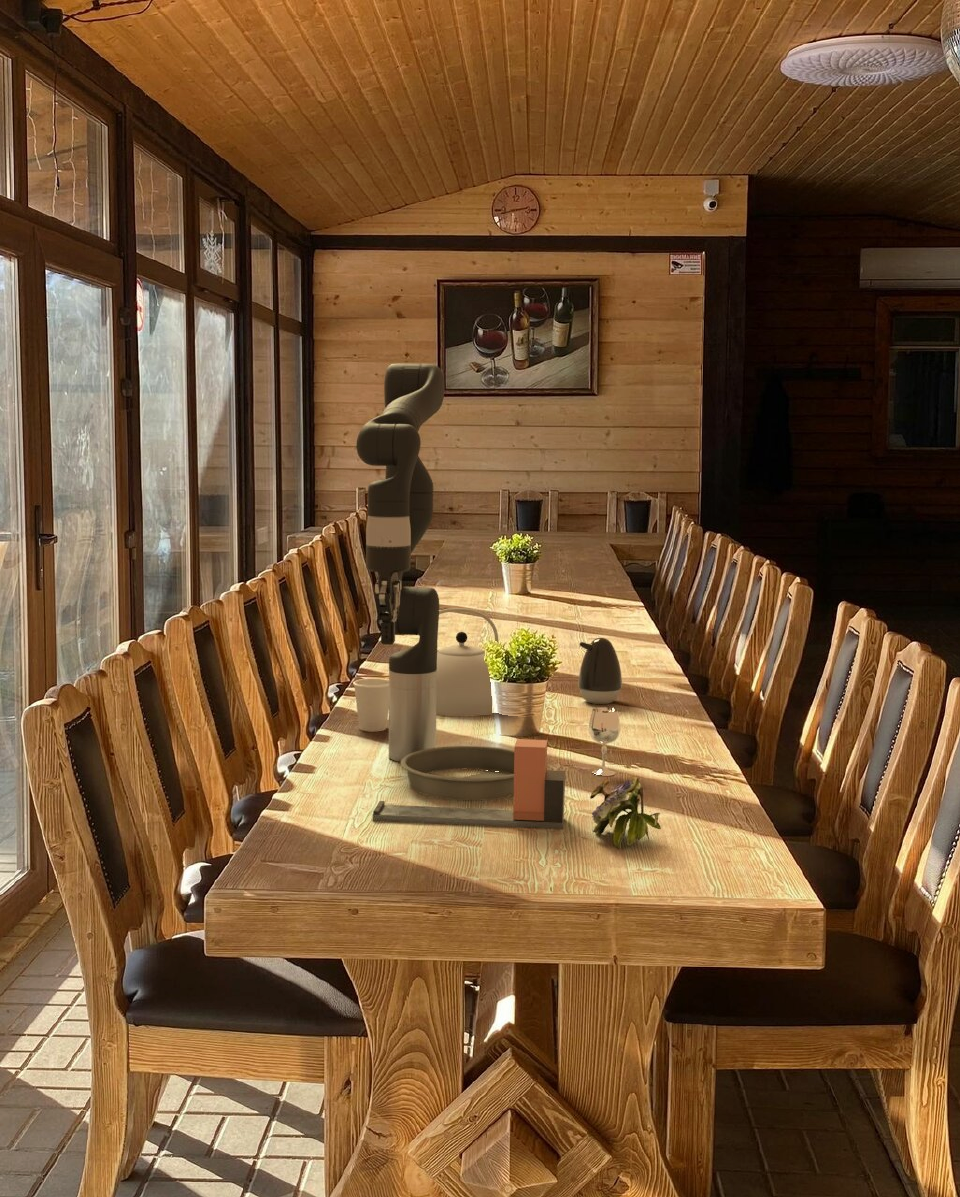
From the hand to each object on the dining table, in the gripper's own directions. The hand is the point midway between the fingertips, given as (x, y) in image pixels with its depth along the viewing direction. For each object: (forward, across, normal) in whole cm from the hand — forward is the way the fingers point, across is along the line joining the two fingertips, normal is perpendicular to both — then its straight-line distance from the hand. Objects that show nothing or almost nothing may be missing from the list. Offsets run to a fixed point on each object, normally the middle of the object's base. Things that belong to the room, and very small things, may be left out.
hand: (388, 643), depth 233 cm
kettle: (+27, +78, -2) cm, 82 cm away
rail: (+27, -11, -16) cm, 33 cm away
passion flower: (+27, -17, -41) cm, 52 cm away
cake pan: (+28, +11, -13) cm, 32 cm away
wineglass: (+27, +22, -37) cm, 51 cm away
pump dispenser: (+27, +86, -35) cm, 97 cm away
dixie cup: (+27, +51, +12) cm, 59 cm away
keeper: (+26, -11, -25) cm, 38 cm away
